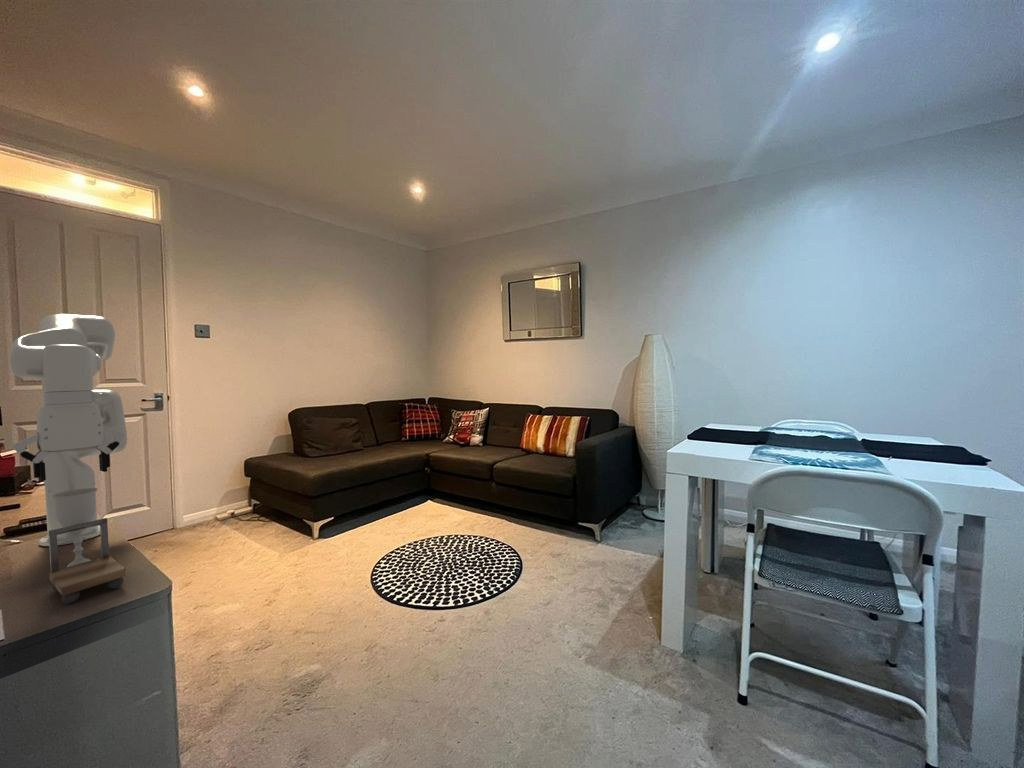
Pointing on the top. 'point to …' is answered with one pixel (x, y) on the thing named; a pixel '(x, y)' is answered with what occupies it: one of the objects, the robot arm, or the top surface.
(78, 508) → the chalice
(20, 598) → the top surface
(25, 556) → the top surface
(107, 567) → the cart
